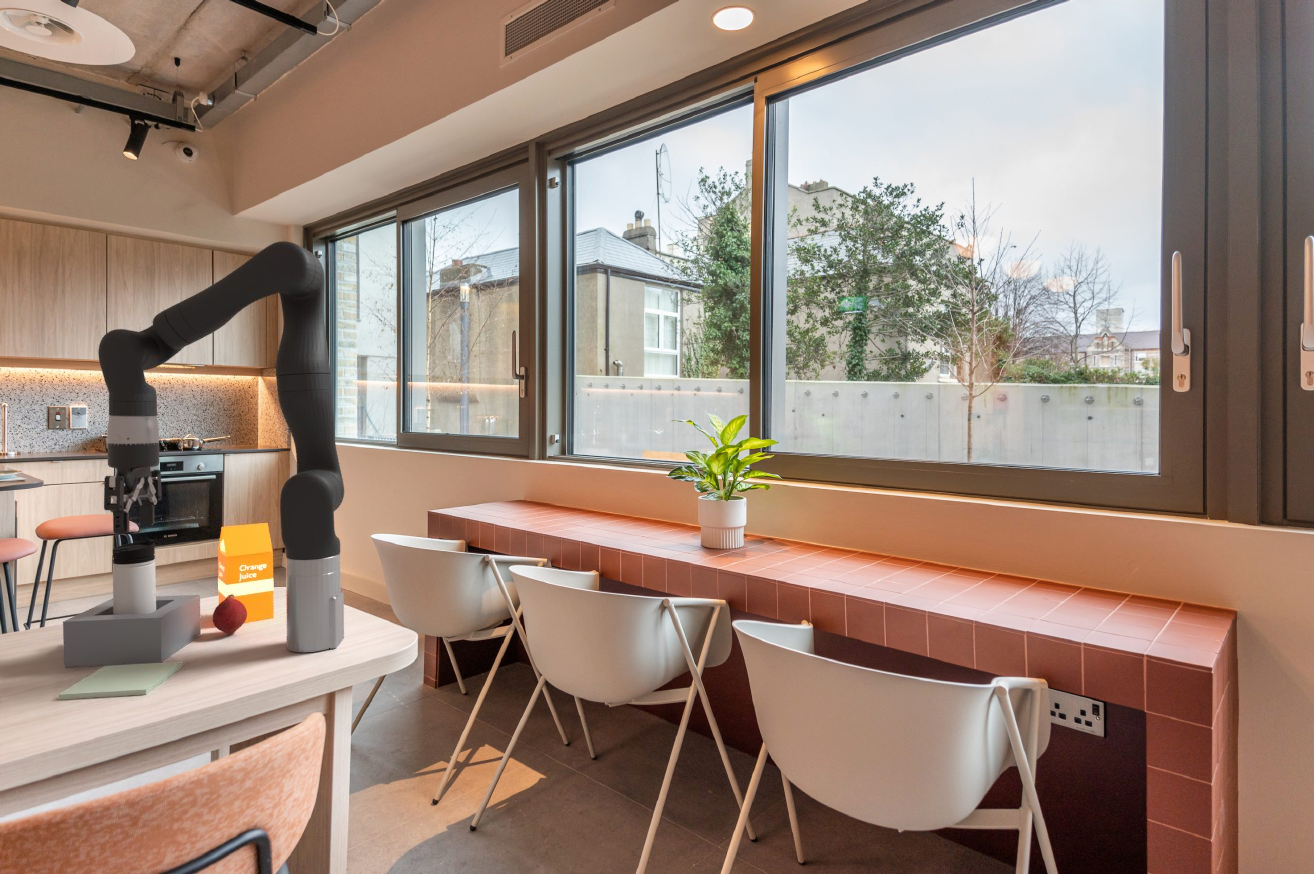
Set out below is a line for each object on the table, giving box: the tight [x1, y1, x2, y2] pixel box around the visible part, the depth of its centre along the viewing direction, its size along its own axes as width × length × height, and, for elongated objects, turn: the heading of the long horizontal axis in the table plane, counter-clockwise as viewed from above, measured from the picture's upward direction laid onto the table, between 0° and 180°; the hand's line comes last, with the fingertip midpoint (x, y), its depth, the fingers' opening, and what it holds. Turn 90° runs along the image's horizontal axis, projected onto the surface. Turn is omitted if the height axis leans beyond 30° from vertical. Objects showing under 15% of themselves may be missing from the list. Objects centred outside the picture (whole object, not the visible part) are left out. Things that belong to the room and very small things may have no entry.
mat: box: [57, 661, 184, 700], centre depth 113 cm, size 12×12×1 cm
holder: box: [62, 594, 201, 668], centre depth 128 cm, size 15×15×8 cm
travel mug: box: [112, 539, 157, 615], centre depth 127 cm, size 6×7×20 cm
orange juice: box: [217, 522, 275, 624], centre depth 147 cm, size 8×9×20 cm
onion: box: [212, 594, 247, 635], centre depth 137 cm, size 6×6×8 cm
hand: (134, 529), depth 127 cm, fingers open, 8 cm apart
